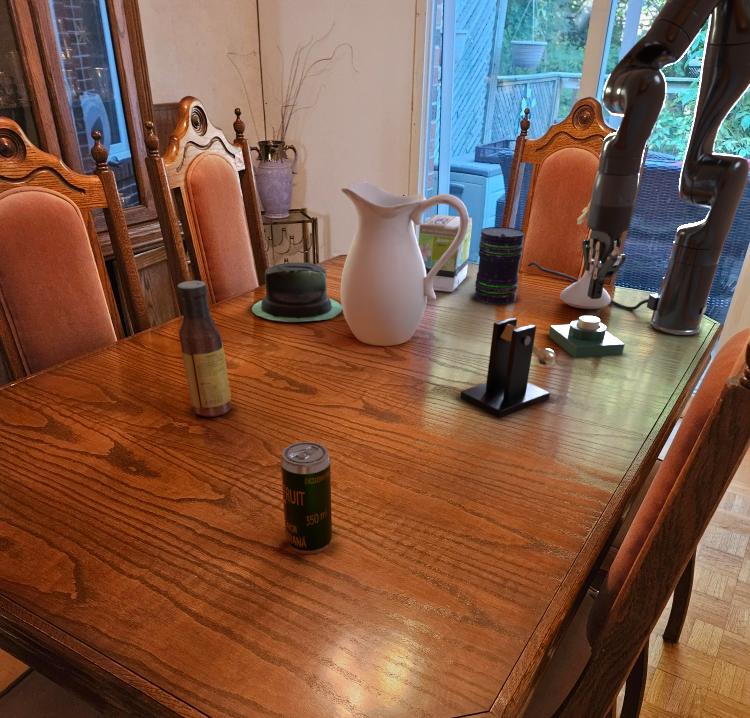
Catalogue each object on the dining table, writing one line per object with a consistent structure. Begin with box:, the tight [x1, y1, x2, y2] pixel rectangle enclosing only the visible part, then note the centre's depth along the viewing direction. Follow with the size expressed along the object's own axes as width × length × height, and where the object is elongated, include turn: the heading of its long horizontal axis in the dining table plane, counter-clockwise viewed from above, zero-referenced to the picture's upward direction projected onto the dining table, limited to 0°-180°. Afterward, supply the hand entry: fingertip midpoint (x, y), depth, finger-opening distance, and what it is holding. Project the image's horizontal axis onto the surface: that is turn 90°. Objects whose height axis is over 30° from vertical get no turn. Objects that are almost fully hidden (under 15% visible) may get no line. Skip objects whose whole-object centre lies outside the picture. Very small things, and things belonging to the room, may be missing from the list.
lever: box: [501, 324, 557, 369], centre depth 109 cm, size 14×3×3 cm
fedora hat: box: [251, 261, 343, 323], centre depth 146 cm, size 15×19×20 cm
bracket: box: [459, 317, 551, 419], centre depth 108 cm, size 12×9×13 cm
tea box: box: [418, 214, 473, 293], centre depth 163 cm, size 15×10×15 cm
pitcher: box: [339, 180, 470, 347], centre depth 126 cm, size 24×17×28 cm
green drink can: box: [280, 441, 333, 555], centre depth 75 cm, size 5×5×12 cm
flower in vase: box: [559, 199, 612, 310], centre depth 146 cm, size 13×11×25 cm
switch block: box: [548, 319, 626, 359], centre depth 132 cm, size 12×10×4 cm
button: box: [578, 315, 601, 330], centre depth 130 cm, size 4×4×2 cm
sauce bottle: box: [176, 280, 232, 418], centre depth 100 cm, size 7×6×20 cm
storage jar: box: [474, 226, 525, 305], centre depth 153 cm, size 10×10×15 cm
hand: (593, 297), depth 128 cm, fingers closed
